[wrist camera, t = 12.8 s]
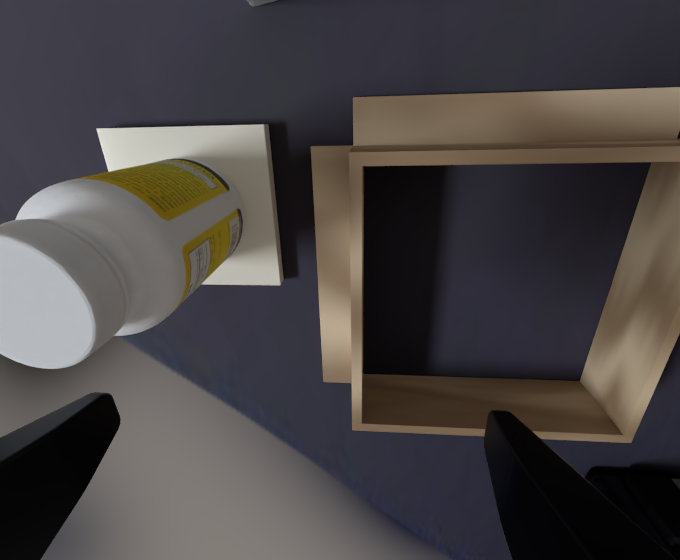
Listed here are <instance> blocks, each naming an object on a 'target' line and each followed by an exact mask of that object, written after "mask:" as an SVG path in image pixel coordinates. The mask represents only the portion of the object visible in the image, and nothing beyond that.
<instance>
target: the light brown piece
mask: <svg viewBox="0 0 680 560" xmlns="http://www.w3.org/2000/svg"><path fill="white" fill-rule="evenodd" d="M679 131H680V87H669V88H637V89H604V90H572V91H540V92H508V93H475V94H443V95H411V96H379V97H353V145H343V146H311V161H312V179H313V197H314V216H315V234H316V253H317V271H318V290H319V308H320V326H321V345H322V363H323V382H338V383H352V430H358V431H380V432H402V433H424V434H446V435H468V436H484V434H485V428H486V423H487V417H488V414H489V412H490V411H491V410H502V411H509V412H511V413H512V414H514V415H515V416H516V417H517V418H518V419H519V420H520V421H521V422H522V423H524V424H525V425H526V426H527V427H528V428H529V429H530V430H531V431H533V432H534V433H535V434H536V435H537V436H538V437H539V438H540V439H555V440H577V441H599V442H620V443H631V442H632V440H633V437H634V435H635V433H636V431H637V428H638V426H639V424H640V422H641V419H642V417H643V415H644V413H645V410H646V408H647V406H648V404H649V401H650V399H651V397H652V395H653V392H654V390H655V388H656V386H657V383H658V381H659V379H660V377H661V374H662V372H663V370H664V368H665V365H666V363H667V361H668V359H669V356H670V354H671V352H672V350H673V347H674V345H675V343H676V341H677V338H678V336H679V334H680V139H677V137H678V134H679ZM615 162H651V166H650V169H649V172H648V175H647V178H646V181H645V184H644V187H643V190H642V193H641V196H640V199H639V202H638V205H637V208H636V211H635V214H634V217H633V220H632V224H631V227H630V230H629V233H628V236H627V239H626V242H625V245H624V248H623V251H622V254H621V257H620V260H619V263H618V266H617V269H616V272H615V275H614V278H613V281H612V285H611V288H610V291H609V294H608V297H607V300H606V303H605V306H604V309H603V312H602V315H601V318H600V321H599V324H598V327H597V330H596V333H595V336H594V339H593V342H592V346H591V349H590V352H589V355H588V358H587V361H586V364H585V367H584V370H583V373H582V376H581V379H580V381H565V380H534V379H504V378H473V377H443V376H412V375H381V374H363V289H364V166H416V165H482V164H549V163H615Z"/></svg>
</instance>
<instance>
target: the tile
mask: <svg viewBox="0 0 680 560" xmlns="http://www.w3.org/2000/svg"><path fill="white" fill-rule="evenodd" d="M97 133H98V136H99V140H100V143H101V147H102V150H103V154H104V157H105V161H106V164H107V168H108V171H109V172H110V171H115V170H120V169H124V168H129V167H134V166H139V165H144V164H148V163H153V162H157V161H162V160H166V159H174V158H189V159H194V160H198V161H201V162H204V163H206V164H208V165H210V166H212V167H213V168H215V169H216V170H218V171H219V172H220V173H221V174H223V175H224V176H225V177H226V178H227V179H228V180H229V181H230V183H231V184H232V185H233V187H234V188H235V190H236V191H237V193H238V195H239V197H240V199H241V202H242V205H243V209H244V214H245V228H244V233H243V236H242V239H241V241H240V243H239V245H238V247H237V248H236V249H235V251H234V252H233V253H232V255H231V256H230V257H228V258H227V259H226V260H225V261H224V262H223V263H222V264H221V265H220V266H219V267H218V268H217V269H216V270H215V271H214V272H213V273H212V274H211V275H210V276H209V277H208V278H207V279H206V280H205V281H204V282H203V283H202V284H217V285H281V283H282V281H283V280H284V278H283V267H282V257H281V247H280V237H279V227H278V217H277V206H276V196H275V186H274V176H273V166H272V156H271V146H270V135H269V125H268V124H258V125H219V126H179V127H140V128H102V129H97Z"/></svg>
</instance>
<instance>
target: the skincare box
mask: <svg viewBox="0 0 680 560" xmlns="http://www.w3.org/2000/svg"><path fill="white" fill-rule="evenodd" d="M247 1H248V2H249V3H250V5H251V6H259V5H262V4H266V3H271V2H274V1H278V0H247Z"/></svg>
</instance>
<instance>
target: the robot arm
mask: <svg viewBox="0 0 680 560" xmlns="http://www.w3.org/2000/svg"><path fill="white" fill-rule="evenodd" d="M119 425H120V415H119V413H118V410H117V407H116V405H115V402H114V399H113V397H112V395H110V394H109V393H98V392H97V393H96V392H95V393H90V394H88V395H86V396H84V397H82V398H80V399H78V400H76V401H74V402H72V403H70V404H68V405H66V406H64V407H62V408H60V409H58V410H56V411H54V412H51V413H50V414H47V415H46V416H43V417H41V418H39V419H37V420H36V421H34V422H31V423H29V424H27V425H25V426H23V427H21V428H19V429H17V430H15V431H13V432H11V433H9V434H8V435H6V436H3V437H1V438H0V560H40V559H41V558H42V556H43V555H44V553H45V552H46V550H47V548H48V547H49V545H50V544H51V542H52V541H53V539H54V538H55V536H56V535H57V533H58V532H59V530H60V529H61V527H62V525H63V524H64V522H65V521H66V519H67V518H68V516H69V515H70V513H71V512H72V510H73V508H74V507H75V505H76V504H77V502H78V501H79V499H80V498H81V496H82V494H83V493H84V491H85V489H86V488H87V486H88V484H89V482H90V480H91V479H92V476H93V475H94V473H95V471H96V469H97V467H98V466H99V464H100V462H101V460H102V458H103V456H104V455H105V453H106V451H107V449H108V447H109V445H110V443H111V442H112V440H113V438H114V436H115V434H116V432H117V430H118V428H119ZM484 448H485V453H486V458H487V462H488V467H489V472H490V476H491V481H492V486H493V491H494V495H495V500H496V505H497V509H498V514H499V518H500V522H501V526H502V529H503V532H504V536H505V539H506V542H507V545H508V548H509V551H510V554H511V557H512V560H680V474H676V473H656V472H637V471H618V470H599V469H595V470H591V471H589V472H588V473H587V475H586V477H585V478H584V477H583V476H582V475H581V474H580V473H578V472H577V471H576V470H575V469H574V468H573V467H572V466H571V465H569V464H568V463H567V462H566V461H565V460H564V459H563V458H562V457H561V456H559V455H558V454H557V453H556V452H555V451H554V450H553V449H552V448H550V447H549V446H548V445H547V444H546V443H545V442H544V441H543V440H541V439H540V438H539V437H538V436H537V435H536V434H535V433H534V432H533V431H531V430H530V429H529V428H528V427H527V426H526V425H525V424H524V423H522V422H521V421H520V420H519V419H518V418H517V417H516V416H515V415H514V414H512V413H511V412H509V411H502V410H491V411H490V412H489V414H488V417H487V423H486V428H485V434H484Z"/></svg>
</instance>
